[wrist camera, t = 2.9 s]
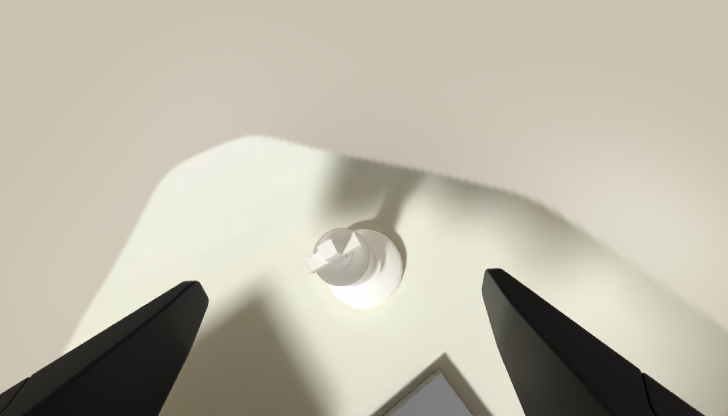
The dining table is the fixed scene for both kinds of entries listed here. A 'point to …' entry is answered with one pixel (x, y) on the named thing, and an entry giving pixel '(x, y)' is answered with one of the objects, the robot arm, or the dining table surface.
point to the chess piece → (357, 266)
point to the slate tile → (431, 400)
